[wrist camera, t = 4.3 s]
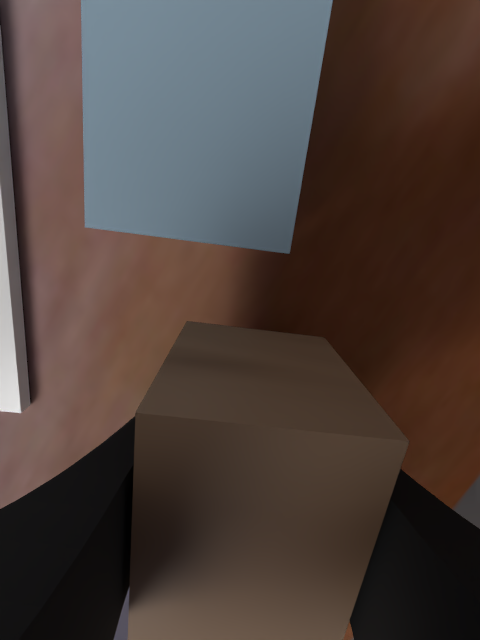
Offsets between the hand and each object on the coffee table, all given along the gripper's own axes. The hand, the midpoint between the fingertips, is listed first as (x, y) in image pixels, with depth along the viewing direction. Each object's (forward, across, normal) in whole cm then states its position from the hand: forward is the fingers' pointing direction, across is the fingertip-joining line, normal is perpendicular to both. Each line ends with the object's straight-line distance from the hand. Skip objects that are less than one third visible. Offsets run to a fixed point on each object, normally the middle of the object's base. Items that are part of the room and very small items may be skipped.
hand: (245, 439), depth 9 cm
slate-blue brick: (+4, +2, -9) cm, 10 cm away
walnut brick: (+2, 0, 0) cm, 2 cm away
